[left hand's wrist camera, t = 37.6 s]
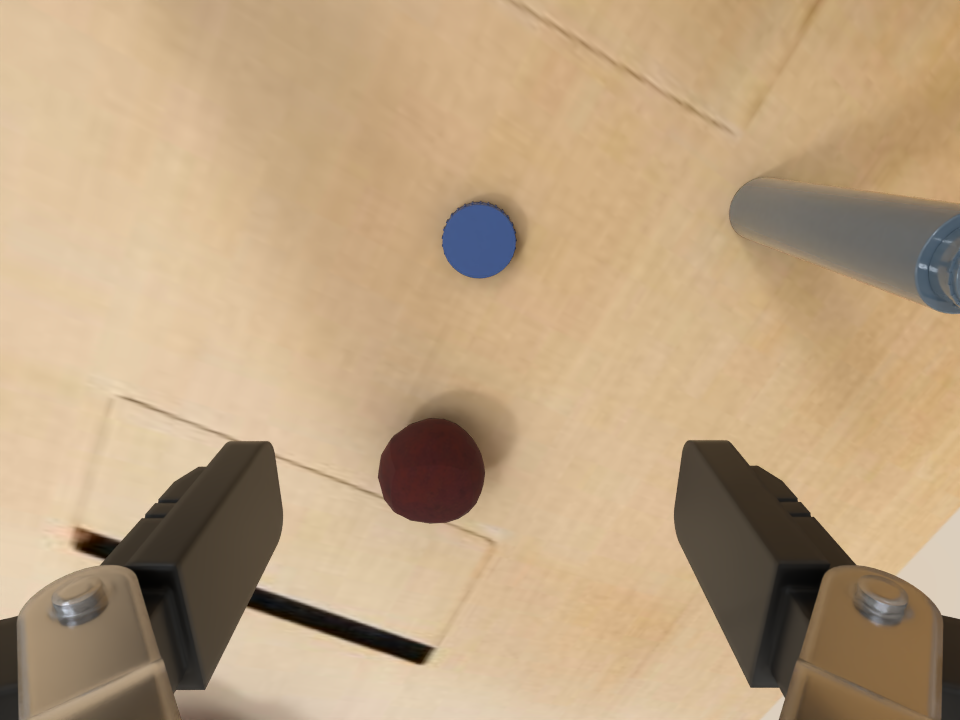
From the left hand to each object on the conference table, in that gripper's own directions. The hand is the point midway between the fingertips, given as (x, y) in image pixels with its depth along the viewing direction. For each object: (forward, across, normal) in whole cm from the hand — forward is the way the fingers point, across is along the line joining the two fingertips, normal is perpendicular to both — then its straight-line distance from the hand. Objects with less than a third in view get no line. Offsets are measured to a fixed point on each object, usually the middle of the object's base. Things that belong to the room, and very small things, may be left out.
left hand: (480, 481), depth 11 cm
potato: (+30, -4, -16) cm, 34 cm away
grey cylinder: (+30, +19, +2) cm, 36 cm away
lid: (+29, 0, 0) cm, 29 cm away
